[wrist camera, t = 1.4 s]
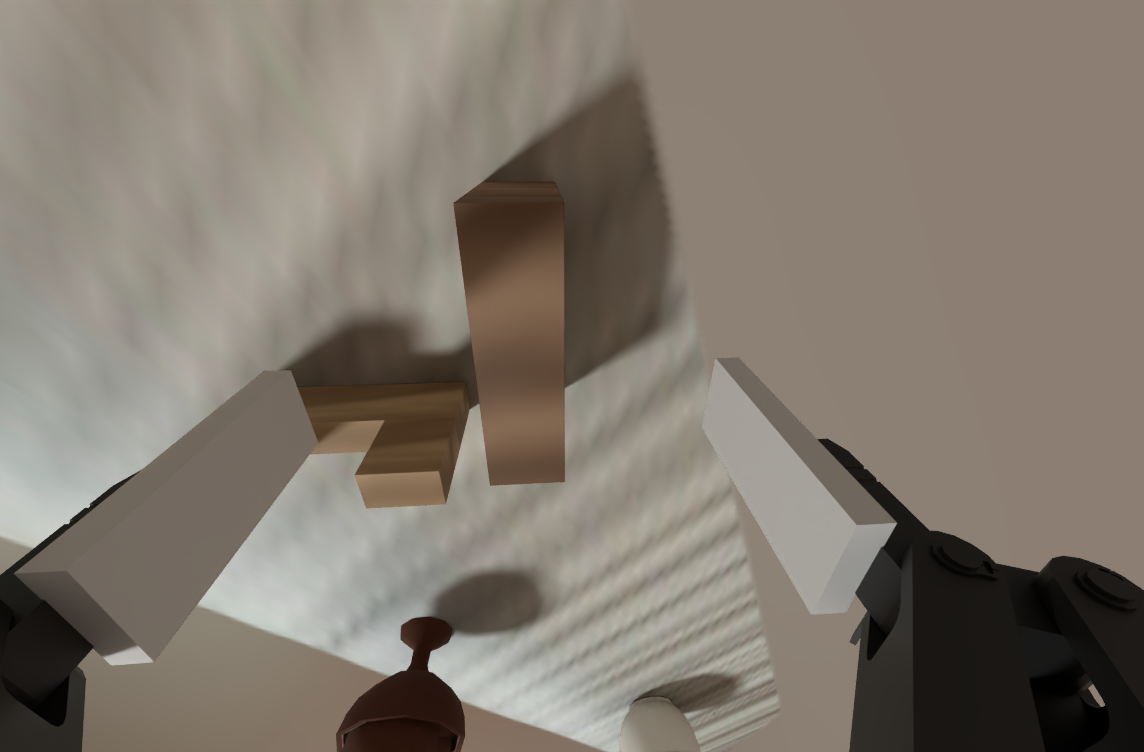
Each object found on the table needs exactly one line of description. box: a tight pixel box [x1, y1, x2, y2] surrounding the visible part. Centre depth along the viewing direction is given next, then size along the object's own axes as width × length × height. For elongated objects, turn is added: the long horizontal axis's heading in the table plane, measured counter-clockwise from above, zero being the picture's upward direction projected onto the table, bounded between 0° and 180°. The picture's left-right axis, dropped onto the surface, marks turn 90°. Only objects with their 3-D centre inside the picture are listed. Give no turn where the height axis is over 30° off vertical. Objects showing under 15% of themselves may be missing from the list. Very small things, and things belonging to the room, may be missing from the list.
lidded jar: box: [619, 696, 701, 752], centre depth 53 cm, size 11×11×9 cm
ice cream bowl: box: [336, 617, 465, 752], centre depth 37 cm, size 11×11×15 cm
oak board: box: [297, 382, 470, 508], centre depth 25 cm, size 2×14×9 cm, turn 89°
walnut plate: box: [454, 182, 565, 486], centre depth 22 cm, size 14×4×9 cm, turn 0°
